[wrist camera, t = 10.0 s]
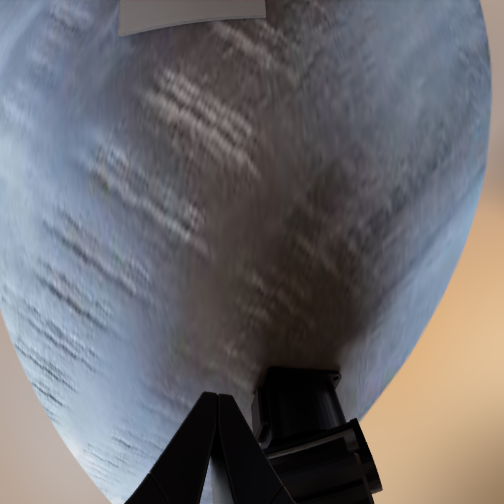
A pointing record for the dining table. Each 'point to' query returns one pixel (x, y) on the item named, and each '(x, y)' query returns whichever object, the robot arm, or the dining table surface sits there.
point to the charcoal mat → (182, 13)
